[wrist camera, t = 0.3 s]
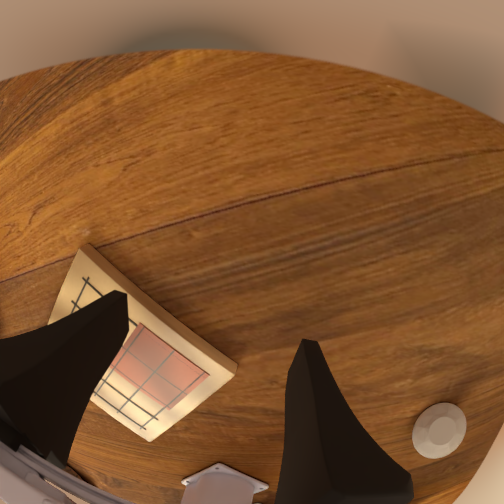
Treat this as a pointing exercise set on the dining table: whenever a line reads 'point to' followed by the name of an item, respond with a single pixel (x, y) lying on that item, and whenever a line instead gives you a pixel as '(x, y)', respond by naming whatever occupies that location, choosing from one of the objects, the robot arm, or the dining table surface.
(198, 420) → the dining table surface
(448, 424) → the gemstone
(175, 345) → the board
